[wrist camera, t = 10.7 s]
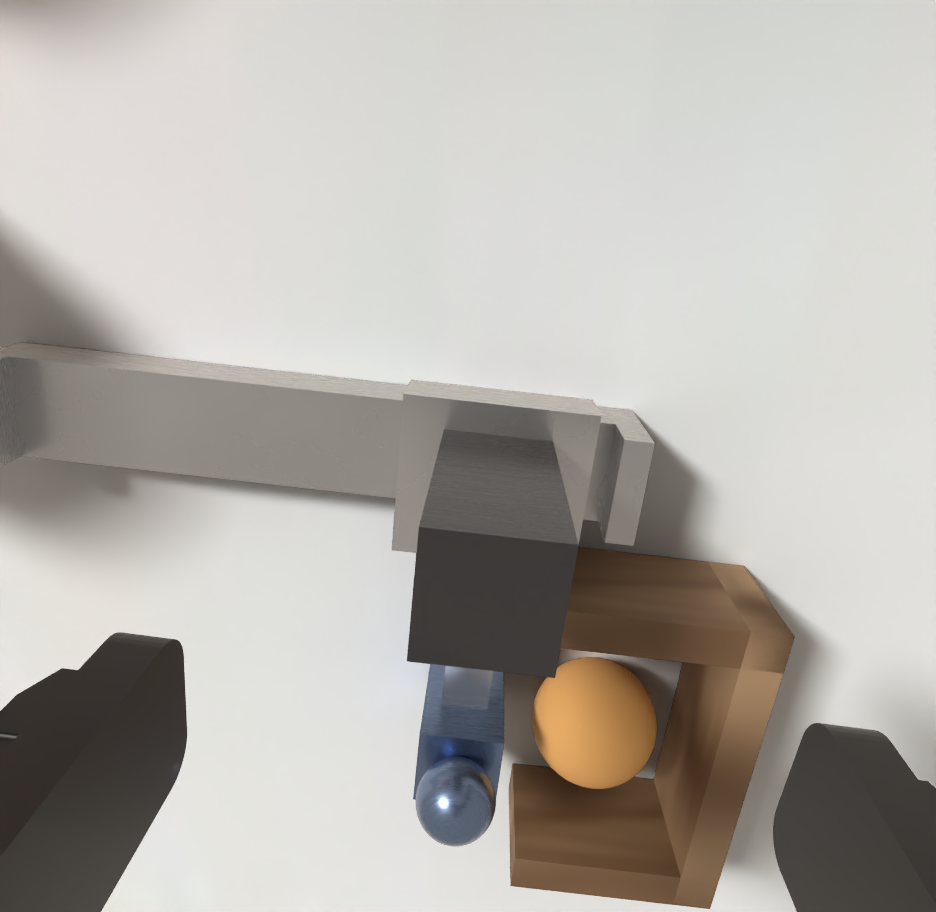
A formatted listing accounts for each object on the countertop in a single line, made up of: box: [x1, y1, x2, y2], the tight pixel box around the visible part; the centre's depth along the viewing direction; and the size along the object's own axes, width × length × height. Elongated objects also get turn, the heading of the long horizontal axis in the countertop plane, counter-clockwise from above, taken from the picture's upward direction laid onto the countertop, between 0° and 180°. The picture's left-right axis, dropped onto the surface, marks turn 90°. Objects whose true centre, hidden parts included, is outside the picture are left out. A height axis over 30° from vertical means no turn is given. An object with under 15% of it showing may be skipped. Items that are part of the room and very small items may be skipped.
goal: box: [509, 547, 795, 909], centre depth 22 cm, size 10×6×4 cm, turn 174°
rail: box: [0, 342, 655, 546], centre depth 20 cm, size 3×19×3 cm, turn 84°
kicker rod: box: [392, 380, 601, 846], centre depth 18 cm, size 12×5×9 cm, turn 174°
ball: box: [532, 657, 657, 789], centre depth 22 cm, size 4×4×4 cm
